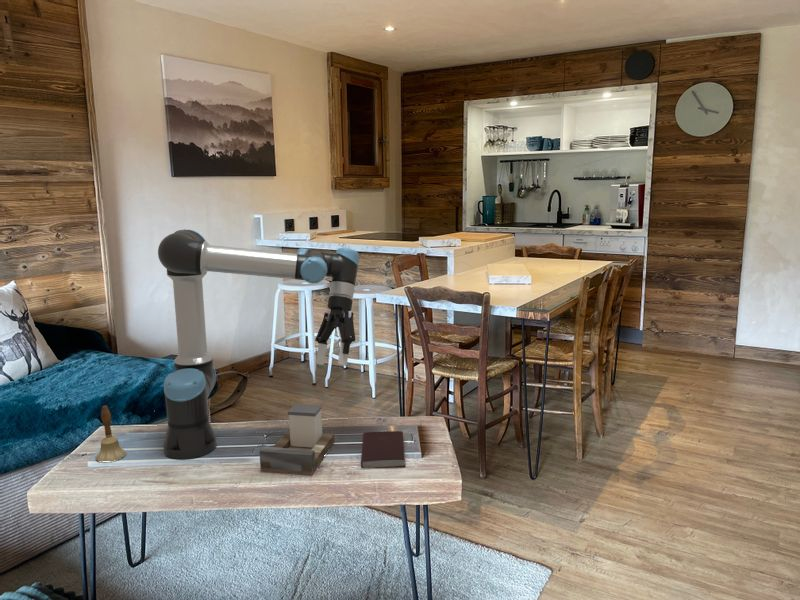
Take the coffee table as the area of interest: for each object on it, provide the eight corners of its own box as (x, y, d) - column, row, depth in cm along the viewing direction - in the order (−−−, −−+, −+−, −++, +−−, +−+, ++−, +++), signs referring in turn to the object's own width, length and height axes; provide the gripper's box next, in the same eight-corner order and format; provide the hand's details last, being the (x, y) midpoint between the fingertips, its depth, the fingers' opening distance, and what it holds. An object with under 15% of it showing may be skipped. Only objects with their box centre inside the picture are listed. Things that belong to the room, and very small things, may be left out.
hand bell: (127, 459, 181) (121, 407, 178) (95, 465, 177) (89, 413, 174) (125, 448, 188) (120, 398, 185) (95, 453, 185) (89, 403, 181)
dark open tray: (288, 439, 192) (287, 421, 191) (334, 442, 189) (333, 424, 188) (260, 471, 172) (259, 451, 171) (312, 475, 169) (311, 455, 168)
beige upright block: (297, 437, 191) (295, 403, 188) (323, 439, 189) (321, 405, 187) (289, 446, 184) (287, 411, 182) (316, 448, 183) (314, 413, 181)
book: (360, 470, 173) (360, 459, 172) (363, 440, 192) (362, 430, 191) (405, 469, 173) (405, 458, 172) (403, 439, 192) (403, 429, 191)
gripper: (373, 297, 186) (362, 367, 182) (331, 302, 206) (321, 365, 202) (352, 291, 182) (341, 363, 178) (311, 297, 202) (300, 362, 198)
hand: (330, 364), depth 190 cm, fingers open, 13 cm apart
